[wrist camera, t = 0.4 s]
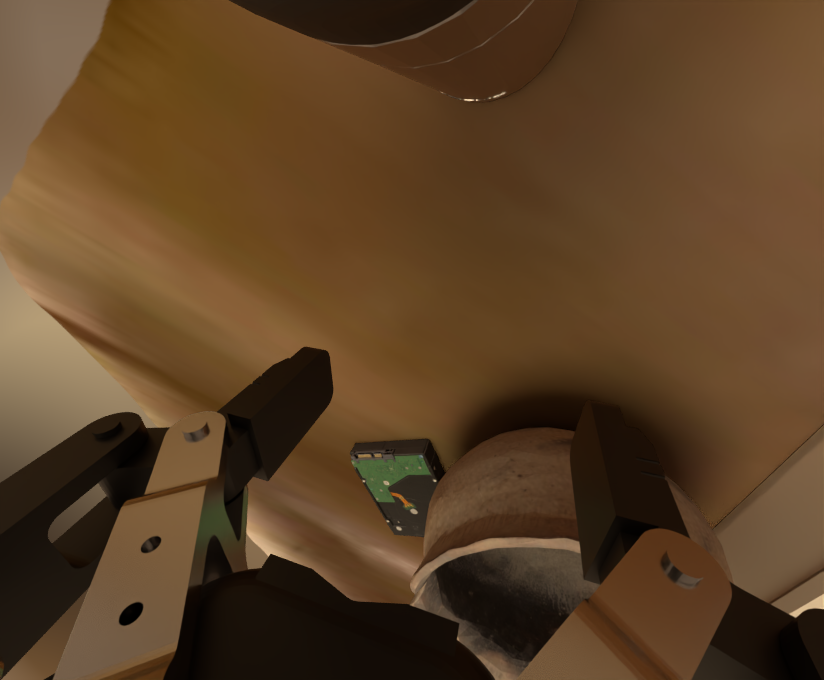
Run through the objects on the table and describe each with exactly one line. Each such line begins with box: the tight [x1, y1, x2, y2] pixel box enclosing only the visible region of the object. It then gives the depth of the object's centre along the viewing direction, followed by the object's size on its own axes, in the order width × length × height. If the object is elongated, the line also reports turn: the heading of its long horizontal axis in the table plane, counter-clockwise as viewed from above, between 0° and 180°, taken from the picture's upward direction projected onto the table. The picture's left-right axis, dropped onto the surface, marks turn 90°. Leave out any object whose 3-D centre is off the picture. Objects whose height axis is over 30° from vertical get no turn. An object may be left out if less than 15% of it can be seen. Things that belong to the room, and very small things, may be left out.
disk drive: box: [350, 439, 445, 537], centre depth 42 cm, size 10×3×15 cm
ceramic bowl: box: [409, 427, 734, 680], centre depth 29 cm, size 22×22×15 cm
